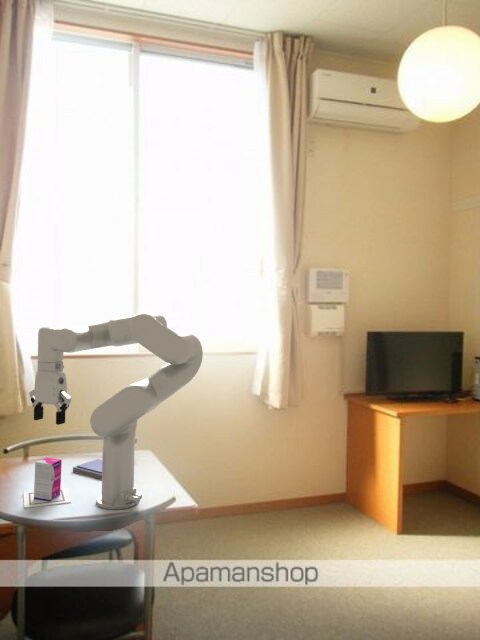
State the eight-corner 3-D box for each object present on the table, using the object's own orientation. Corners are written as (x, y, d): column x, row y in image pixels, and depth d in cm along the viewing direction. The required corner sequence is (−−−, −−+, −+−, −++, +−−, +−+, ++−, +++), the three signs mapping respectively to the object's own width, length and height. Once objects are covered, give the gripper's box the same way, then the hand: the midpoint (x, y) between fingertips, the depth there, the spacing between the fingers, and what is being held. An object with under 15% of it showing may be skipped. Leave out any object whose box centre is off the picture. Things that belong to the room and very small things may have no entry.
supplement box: (50, 501, 162) (50, 464, 162) (33, 499, 164) (33, 462, 163) (61, 495, 168) (62, 458, 167) (45, 492, 169) (45, 456, 169)
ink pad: (125, 470, 195) (125, 464, 195) (101, 479, 184) (101, 473, 184) (97, 463, 202) (98, 457, 202) (72, 471, 192) (72, 465, 191)
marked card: (70, 502, 163) (70, 501, 163) (24, 508, 157) (24, 506, 157) (66, 488, 175) (66, 487, 174) (23, 493, 169) (23, 491, 169)
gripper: (79, 368, 166) (78, 423, 167) (40, 363, 175) (39, 415, 175) (61, 370, 160) (59, 427, 160) (21, 365, 168) (20, 420, 169)
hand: (49, 421), depth 168 cm, fingers open, 9 cm apart
